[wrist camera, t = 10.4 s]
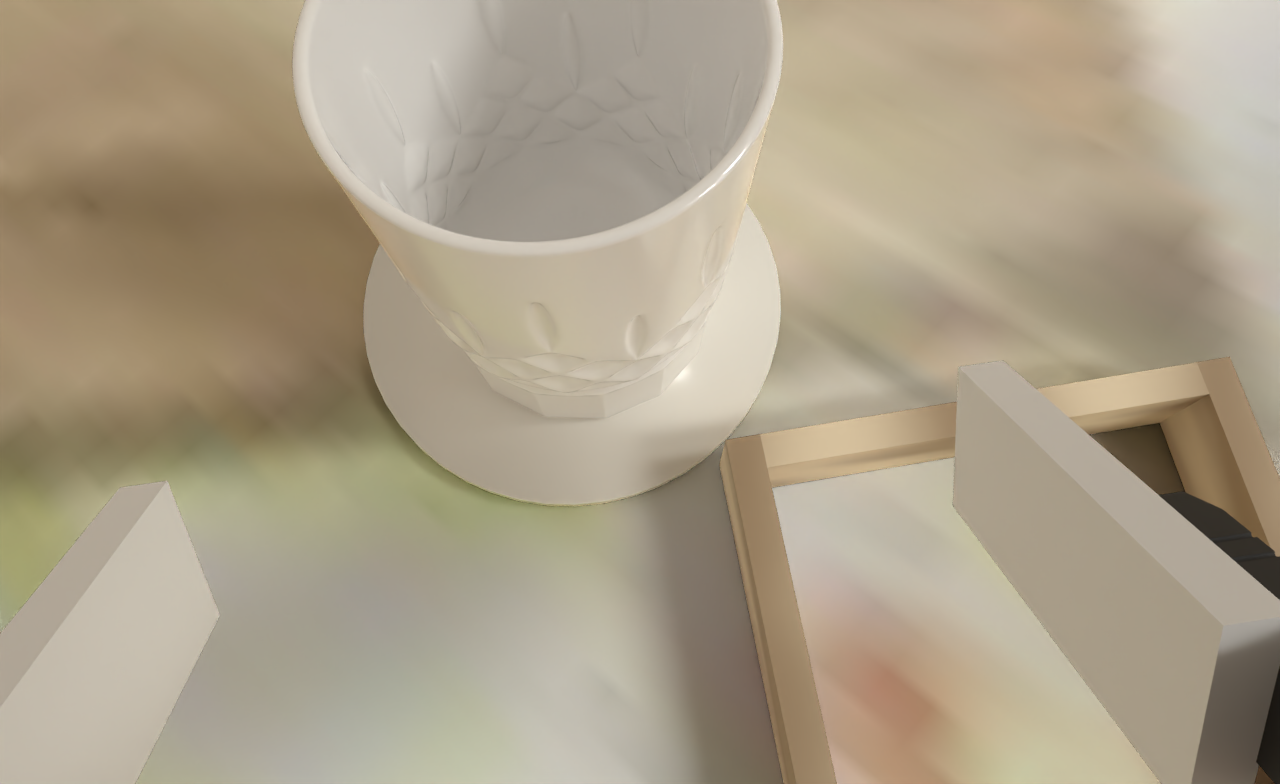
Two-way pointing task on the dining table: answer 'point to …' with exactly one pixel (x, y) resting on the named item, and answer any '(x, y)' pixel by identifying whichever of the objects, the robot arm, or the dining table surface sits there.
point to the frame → (750, 466)
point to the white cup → (549, 172)
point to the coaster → (574, 447)
